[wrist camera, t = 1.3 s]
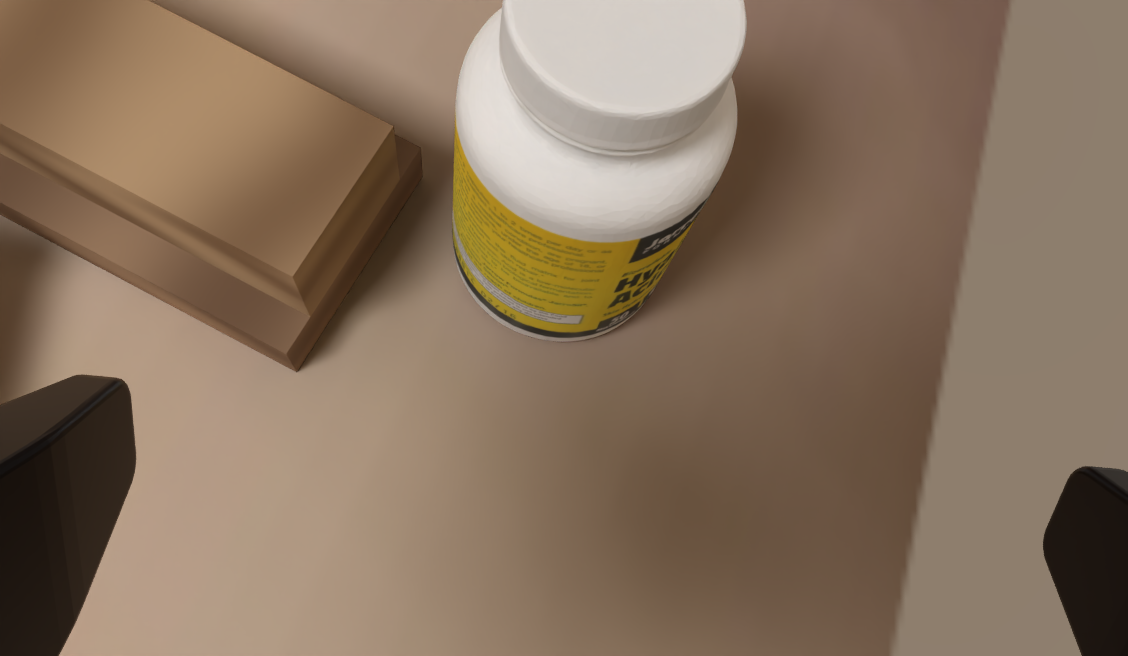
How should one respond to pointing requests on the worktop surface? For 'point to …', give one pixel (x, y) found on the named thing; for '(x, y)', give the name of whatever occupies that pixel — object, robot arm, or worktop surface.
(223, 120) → the ridge
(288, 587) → the worktop surface
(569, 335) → the supplement bottle
